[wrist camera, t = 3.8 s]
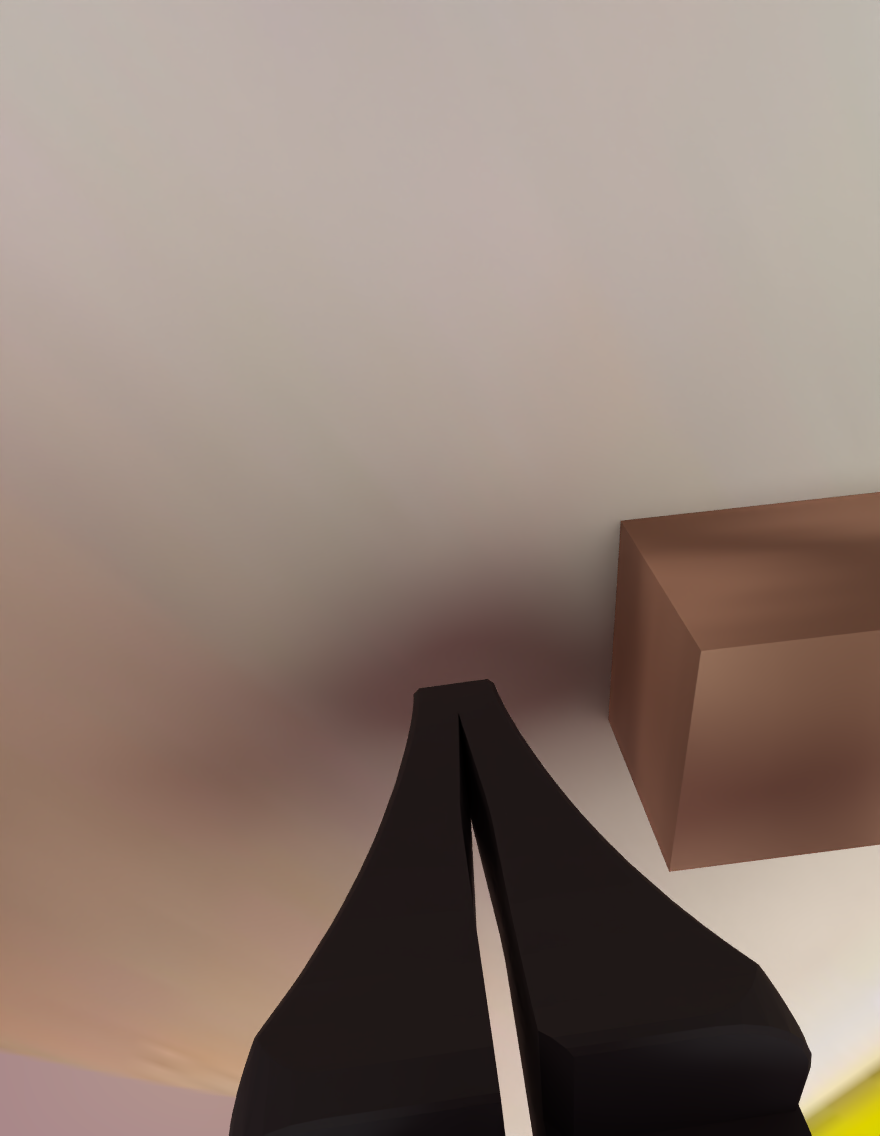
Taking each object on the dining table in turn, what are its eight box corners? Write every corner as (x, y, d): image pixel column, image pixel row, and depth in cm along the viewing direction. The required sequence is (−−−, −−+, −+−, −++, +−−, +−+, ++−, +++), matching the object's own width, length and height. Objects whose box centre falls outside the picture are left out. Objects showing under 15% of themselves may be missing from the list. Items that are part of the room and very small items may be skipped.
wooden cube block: (606, 715, 17) (668, 871, 13) (618, 517, 14) (701, 651, 11) (825, 688, 17) (941, 836, 14) (879, 489, 14) (1040, 611, 11)
